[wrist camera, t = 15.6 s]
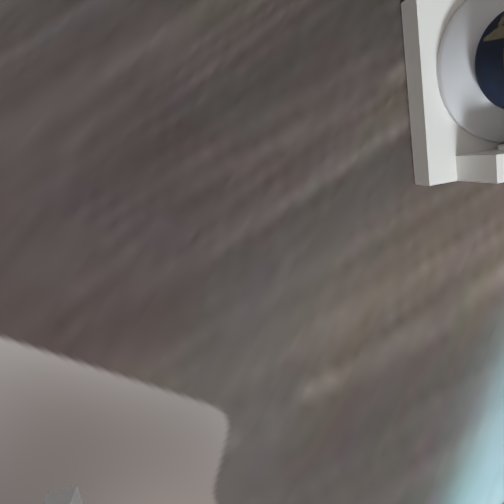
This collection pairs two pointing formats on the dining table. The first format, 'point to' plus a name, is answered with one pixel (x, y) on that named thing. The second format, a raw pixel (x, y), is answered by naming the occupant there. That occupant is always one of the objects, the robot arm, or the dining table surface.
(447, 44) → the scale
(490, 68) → the canister
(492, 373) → the dining table surface
